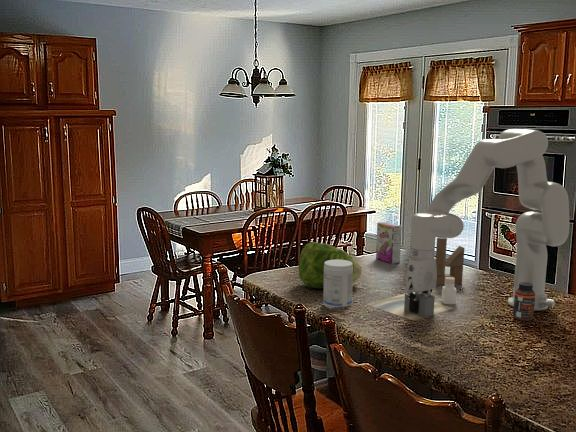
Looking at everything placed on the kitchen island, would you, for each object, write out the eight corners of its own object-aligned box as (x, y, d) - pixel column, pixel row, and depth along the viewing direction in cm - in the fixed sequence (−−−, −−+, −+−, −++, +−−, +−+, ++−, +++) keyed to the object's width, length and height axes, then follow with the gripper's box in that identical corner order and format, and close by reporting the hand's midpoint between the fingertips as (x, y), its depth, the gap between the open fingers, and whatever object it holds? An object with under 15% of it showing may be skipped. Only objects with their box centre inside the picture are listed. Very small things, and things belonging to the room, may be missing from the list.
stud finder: (433, 314, 181) (434, 295, 180) (424, 317, 178) (425, 297, 177) (413, 308, 187) (414, 289, 186) (404, 311, 184) (405, 291, 183)
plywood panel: (453, 311, 188) (454, 308, 187) (414, 324, 175) (414, 320, 175) (404, 296, 203) (405, 293, 203) (365, 307, 190) (365, 304, 190)
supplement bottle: (520, 322, 179) (523, 286, 177) (508, 316, 184) (511, 281, 182) (537, 320, 180) (540, 285, 178) (524, 314, 186) (527, 280, 184)
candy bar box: (375, 258, 259) (376, 222, 256) (383, 257, 261) (385, 221, 258) (391, 264, 249) (393, 226, 246) (400, 263, 252) (402, 225, 249)
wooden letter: (462, 284, 220) (465, 237, 217) (437, 286, 217) (439, 239, 214) (456, 281, 223) (459, 235, 220) (432, 283, 220) (434, 237, 217)
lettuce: (355, 301, 217) (373, 277, 205) (295, 294, 210) (311, 269, 199) (348, 265, 228) (365, 240, 216) (292, 257, 221) (306, 231, 209)
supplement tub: (341, 300, 198) (342, 257, 196) (357, 307, 190) (359, 264, 188) (317, 304, 193) (318, 260, 191) (333, 312, 185) (334, 267, 183)
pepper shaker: (452, 303, 196) (454, 276, 194) (456, 307, 192) (457, 279, 190) (440, 303, 196) (442, 276, 194) (444, 307, 192) (445, 279, 190)
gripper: (414, 259, 171) (411, 319, 174) (448, 252, 182) (445, 308, 185) (394, 255, 177) (391, 312, 180) (428, 248, 187) (425, 302, 190)
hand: (418, 309), depth 182 cm, fingers closed on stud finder, 4 cm apart
